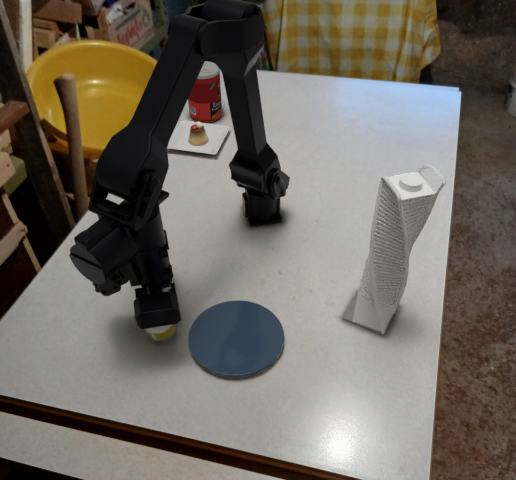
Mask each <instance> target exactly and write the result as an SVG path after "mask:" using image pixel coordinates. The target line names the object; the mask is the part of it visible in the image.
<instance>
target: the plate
mask: <svg viewBox="0 0 516 480" xmlns="http://www.w3.org/2000/svg"><path fill="white" fill-rule="evenodd" d="M187 341H188V347H189V351H190V353H191V355H192V357H193V359H194V360H195V362H197V364H198V365H199V366H200V367H201V368H203V369H204V370H206V371H207V372H209V373H211V374H214V375H217V376H219V377H224V378H232V379H235V378H236V379H237V378H239V379H240V378H246V377H251V376H254V375H257V374H259V373H261V372H263V371H265V370H266V369H268V368H270V367H271V366H272V365H273V364H274V363H275V362H276V361H277V360H278V358H279V357H280V355H281V353H282V351H283V349H284V344H285V331H284V328H283V325H282V323H281V321H280V319H279V318H278V317H277V316H276V314H275V313H274V312H272V310H270V309H269V308H267V307H265V306H264V305H261V304H259V303H258V302H257V303H256V302H254V301H253V302H252V301H248V300H238V299H237V300H227V301H222V302H218V303H216V304H214V305H212V306H210V307H208V308H206V309H205V310H203V311H202V312H201V313H200V314H199V315H197V316H196V318H195V319H194V321H193V322H192V324H191V326H190V328H189V332H188V340H187Z"/></svg>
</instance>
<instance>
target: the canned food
mask: <svg viewBox="0 0 516 480" xmlns="http://www.w3.org/2000/svg"><path fill="white" fill-rule="evenodd" d="M187 103H188V111H189V112H188V113H189V115H190V117H191V119H192V120H194V122H198V121H199V122H201V123H208V124H211V123H214V122H216V121H218V120H219V119H220V118H221V117H222V114H223V105H222V104H223V103H222V87H221V70H220V69H219V68H218V66H217V65H216V64H215V63H214V61H208V60H205V62H204V64H203V67H202V69H201V71H200V73H199V75H198V78H197V80H196V82H195V84H194V87H193V89H192V91H191V93H190V95H189V98H188V100H187Z"/></svg>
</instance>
